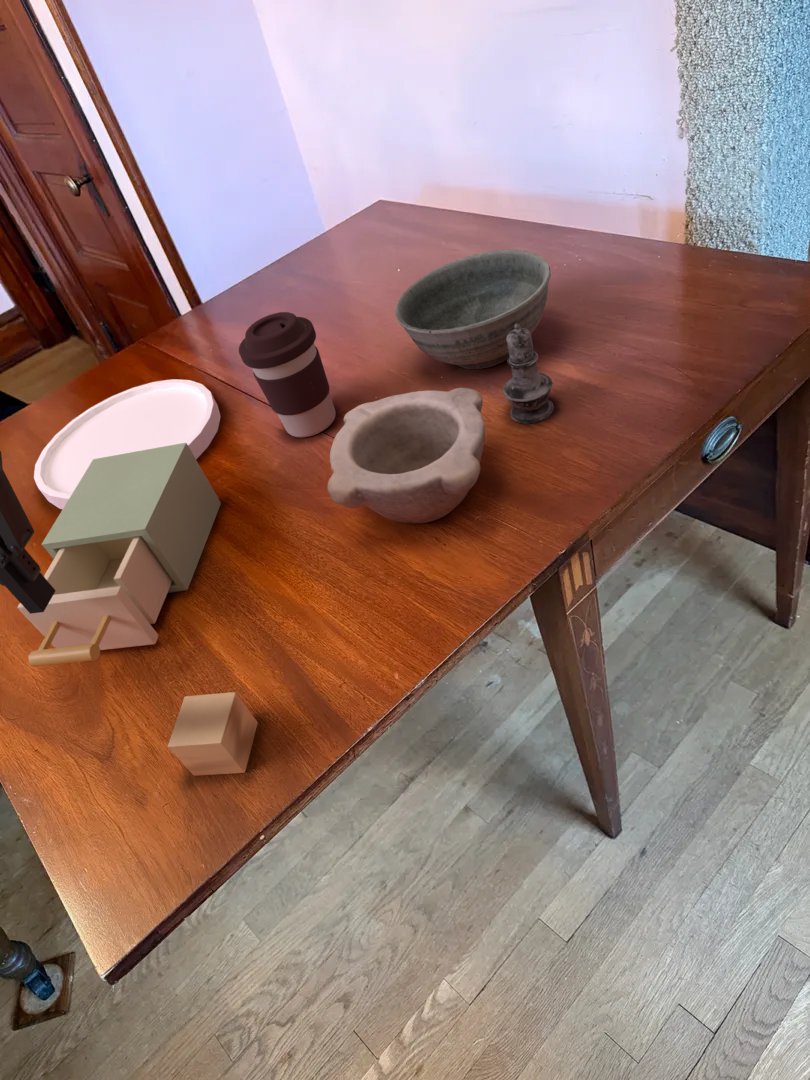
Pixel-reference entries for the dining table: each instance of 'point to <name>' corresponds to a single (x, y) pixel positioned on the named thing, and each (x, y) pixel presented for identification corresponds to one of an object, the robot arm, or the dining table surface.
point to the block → (213, 734)
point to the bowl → (475, 306)
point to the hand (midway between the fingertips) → (43, 601)
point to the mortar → (409, 454)
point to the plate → (127, 431)
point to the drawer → (99, 601)
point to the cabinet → (143, 507)
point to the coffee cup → (290, 372)
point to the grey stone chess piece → (526, 380)
